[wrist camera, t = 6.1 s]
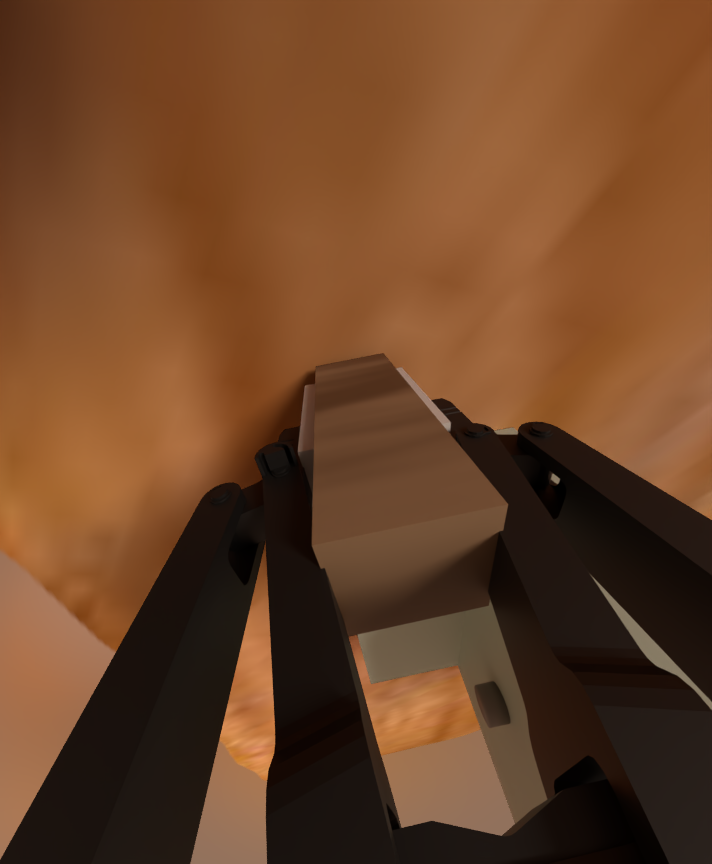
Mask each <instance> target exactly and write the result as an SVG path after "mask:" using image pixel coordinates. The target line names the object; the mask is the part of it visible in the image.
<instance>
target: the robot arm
mask: <svg viewBox="0 0 712 864" xmlns="http://www.w3.org/2000/svg"><path fill="white" fill-rule="evenodd" d="M396 369H397V370H398V372H399V373H400V374H401V375H402V376H403V378H404V379H405V380H406V381H407V382H408V384H409V385H410V386H411V387H412V389H413V390H414V391H415V392H416V393H417V395H418V396H419V397H420V398H421V399H422V401H423V402H424V403H425V404H426V405H427V407H428V408H429V409H430V410H431V411H432V413H433V414H434V415H435V416H436V418H437V419H438V420H439V421H440V422H441V424H442V425H443V426H444V427H445V428H446V430H447V431H448V432H449V433H450V434H451V436H452V437H453V438H454V439H455V441H456V442H457V443H458V444H459V445H460V447H461V448H462V449H463V450H464V451H465V453H466V454H467V455H468V456H469V457H470V459H471V460H472V461H473V462H474V463H475V465H476V466H477V467H478V468H479V470H480V471H481V472H482V473H483V474H484V476H485V477H486V478H487V479H488V480H489V482H490V483H491V484H492V485H493V486H494V488H495V489H496V490H497V491H498V492H499V494H500V495H501V496H502V497H503V499H504V500H505V501H506V502H507V503H508V508H507V513H506V518H505V523H504V529H503V531H499V536H498V541H497V546H496V551H495V556H494V562H493V567H492V572H491V577H490V582H489V588H488V593H489V596H490V600H491V603H492V606H493V609H494V612H495V615H496V618H497V621H498V624H499V627H500V630H501V633H502V636H503V640H504V643H505V646H506V649H507V652H508V655H509V658H510V661H511V664H512V667H513V670H514V673H515V676H516V680H517V683H518V686H519V689H520V692H521V695H522V698H523V701H524V705H525V709H526V713H527V720H528V729H529V736H530V741H531V746H532V750H533V754H534V757H535V761H536V765H537V768H538V771H539V774H540V777H541V781H542V784H543V787H544V790H545V794H546V797H547V800H546V801H544V802H543V803H541V804H540V805H538V806H536V807H535V808H533V809H532V810H531V811H529V812H528V813H527V814H526V815H525V816H524V817H523V818H521V819H520V820H519V821H518V822H517V823H516V824H515V825H513V826H512V827H511V828H510V829H509V830H508V831H507V832H506V833H504V834H503V835H502V836H499V835H495V834H489V833H485V832H481V831H476V830H471V829H467V828H462V827H458V826H453V825H449V824H444V823H439V822H435V821H429V822H425V823H421V824H417V825H413V826H408V827H404V828H401V824H400V821H399V817H398V814H397V810H396V806H395V803H394V799H393V795H392V792H391V788H390V785H389V781H388V777H387V774H386V771H385V767H384V764H383V761H382V757H381V754H380V751H379V747H378V744H377V740H376V737H375V733H374V729H373V726H372V722H371V718H370V715H369V711H368V707H367V704H366V700H365V696H364V693H363V689H362V685H361V682H360V678H359V674H358V671H357V667H356V663H355V660H354V656H353V652H352V648H351V645H350V641H349V637H348V634H347V630H346V626H345V623H344V620H343V617H342V614H341V611H340V609H339V606H338V603H337V600H336V597H335V595H334V592H333V589H332V586H331V583H330V581H329V578H328V575H327V572H326V570H325V568H322V569H321V568H320V566H319V563H318V560H317V558H316V555H315V553H314V550H313V547H312V512H313V507H312V503H313V467H314V421H315V384H310V385H305V389H304V398H303V407H302V417H301V426H299V427H294V428H289V429H285V430H284V431H283V432H282V433H281V434H280V436H279V440H278V442H276V443H272V444H269V445H267V446H265V447H263V448H262V449H260V450H259V451H258V452H257V453H256V455H255V461H256V463H257V465H258V468H259V470H260V472H261V475H262V478H263V480H261V481H260V482H258V483H256V484H254V485H251V486H249V487H247V488H244V489H242V490H241V488H240V486H239V485H238V484H236V483H225V484H221V485H219V486H217V487H214V488H213V489H211V490H210V491H209V492H207V493H206V494H205V495H204V497H203V498H202V499H201V501H200V503H199V504H198V506H197V508H196V510H195V512H194V513H193V515H192V517H191V519H190V521H189V522H188V524H187V526H186V528H185V530H184V531H183V533H182V535H181V537H180V539H179V540H178V542H177V544H176V546H175V548H174V549H173V551H172V553H171V555H170V556H169V558H168V560H167V562H166V564H165V565H164V567H163V569H162V571H161V573H160V574H159V576H158V578H157V580H156V582H155V583H154V585H153V587H152V589H151V591H150V592H149V594H148V596H147V598H146V599H145V601H144V603H143V605H142V607H141V608H140V610H139V612H138V614H137V616H136V617H135V619H134V621H133V623H132V625H131V626H130V628H129V630H128V632H127V634H126V635H125V637H124V639H123V641H122V643H121V644H120V646H119V648H118V650H117V651H116V653H115V655H114V657H113V659H112V660H111V662H110V664H109V666H108V668H107V670H106V671H105V673H104V675H103V677H102V678H101V680H100V682H99V684H98V686H97V687H96V689H95V691H94V693H93V695H92V696H91V698H90V700H89V702H88V704H87V705H86V707H85V709H84V711H83V713H82V714H81V716H80V718H79V720H78V721H77V723H76V725H75V727H74V729H73V730H72V732H71V734H70V736H69V738H68V739H67V741H66V743H65V745H64V746H63V749H62V750H61V752H60V754H59V756H58V757H57V759H56V761H55V763H54V765H53V766H52V768H51V770H50V772H49V774H48V775H47V777H46V779H45V781H44V783H43V784H42V786H41V788H40V790H39V792H38V793H37V795H36V797H35V799H34V800H33V802H32V804H31V806H30V807H29V810H28V811H27V813H26V815H25V816H24V818H23V820H22V822H21V824H20V825H19V827H18V829H17V831H16V833H15V835H14V836H13V838H12V840H11V841H10V843H9V845H8V847H7V849H6V850H5V852H4V854H3V856H2V858H1V860H0V864H190V862H191V858H192V854H193V849H194V845H195V841H196V836H197V832H198V828H199V824H200V819H201V815H202V811H203V807H204V802H205V798H206V793H207V789H208V785H209V781H210V776H211V772H212V768H213V763H214V759H215V755H216V751H217V747H218V742H219V738H220V734H221V730H222V725H223V721H224V717H225V712H226V708H227V704H228V700H229V695H230V691H231V687H232V682H233V678H234V674H235V670H236V665H237V661H238V657H239V652H240V648H241V644H242V640H243V635H244V631H245V627H246V623H247V618H248V614H249V610H250V605H251V601H252V597H253V593H254V588H255V584H256V580H257V575H258V571H259V567H260V563H261V558H262V554H263V550H264V545H265V539H266V557H267V577H268V597H269V616H270V636H271V656H272V676H273V695H274V715H275V752H274V756H273V759H272V762H271V764H270V767H269V771H268V780H267V789H266V838H267V864H712V710H711V709H710V707H709V706H708V705H707V704H706V703H705V702H704V700H703V699H702V698H701V697H700V696H699V694H698V693H697V692H696V691H695V690H694V689H693V688H692V687H690V686H689V685H688V684H687V683H686V682H685V681H683V680H682V679H681V678H680V677H679V676H677V675H675V674H673V673H671V672H668V671H666V670H664V669H662V668H660V667H657V666H656V665H655V664H654V663H652V662H651V661H650V660H649V659H648V658H647V657H646V655H645V654H644V653H643V652H642V650H641V649H640V648H639V646H638V645H637V643H636V642H635V640H634V639H633V637H632V636H631V634H630V633H629V631H628V630H627V628H626V627H625V625H624V624H623V622H622V621H621V619H620V618H619V616H618V615H617V613H616V612H615V610H614V609H613V607H612V606H611V604H610V603H609V601H608V600H607V598H606V597H605V595H604V594H603V592H602V591H601V589H600V588H599V587H598V585H597V584H596V582H595V581H594V579H595V580H596V581H597V582H598V583H599V584H600V585H601V586H602V587H603V588H604V589H605V590H606V591H607V592H608V593H609V594H610V595H611V597H612V598H613V599H614V600H615V601H616V602H617V603H618V604H619V605H620V606H621V607H622V608H623V609H624V610H625V611H626V612H627V613H628V614H629V615H630V616H631V618H632V619H633V620H634V621H635V622H636V623H637V624H638V625H639V626H640V627H641V628H642V629H643V630H644V631H645V632H646V633H647V634H648V635H649V636H650V638H651V639H652V640H653V641H654V642H655V643H656V644H657V645H658V646H659V647H660V648H661V649H662V650H663V651H664V652H665V653H666V654H667V655H668V656H669V657H670V659H671V660H672V661H673V662H674V663H675V664H676V665H677V666H678V667H679V668H680V669H681V670H682V671H683V672H684V673H685V674H686V675H687V676H688V677H689V679H690V680H691V681H692V682H693V683H694V684H695V685H696V686H697V687H698V688H699V689H700V690H701V691H702V692H703V693H704V694H705V695H706V696H707V697H708V698H709V700H710V701H711V702H712V520H710V519H709V518H707V517H706V516H704V515H702V514H701V513H699V512H697V511H696V510H694V509H692V508H691V507H689V506H687V505H686V504H684V503H682V502H681V501H679V500H677V499H676V498H674V497H672V496H671V495H669V494H667V493H666V492H664V491H662V490H661V489H659V488H657V487H656V486H654V485H652V484H651V483H649V482H648V481H646V480H644V479H643V478H641V477H639V476H638V475H636V474H634V473H633V472H631V471H629V470H628V469H626V468H624V467H623V466H621V465H619V464H618V463H616V462H614V461H613V460H611V459H609V458H608V457H606V456H604V455H603V454H601V453H599V452H598V451H596V450H595V449H593V448H591V447H590V446H588V445H586V444H585V443H583V442H581V441H580V440H578V439H576V438H575V437H573V436H571V435H570V434H568V433H566V432H565V431H563V430H561V429H560V428H558V427H556V426H554V425H551V424H547V423H544V422H528V423H525V424H522V425H521V426H520V427H519V429H518V434H496V433H495V432H494V430H493V429H491V428H490V427H488V426H486V425H483V424H478V423H472V422H471V421H470V420H469V419H468V418H467V417H466V416H465V415H464V414H463V413H462V412H460V410H459V409H457V408H456V407H455V406H454V405H453V404H452V403H451V402H450V401H447V400H445V399H442V398H440V399H435V400H430V398H429V397H428V396H427V395H426V394H425V393H424V392H423V391H422V390H421V388H420V387H419V386H418V385H417V384H416V383H415V382H414V381H413V379H412V378H411V377H410V376H409V375H408V374H407V373H406V372H405V371H404V369H403V368H402V367H401V368H396ZM552 474H554V475H556V476H557V477H558V478H559V479H560V481H559V483H558V484H557V483H555V482H554V481H552V480H551V477H552ZM590 574H591V575H592V576H591V575H590ZM592 577H593V578H594V579H593V578H592Z"/></svg>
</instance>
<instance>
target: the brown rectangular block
mask: <svg viewBox="0 0 712 864" xmlns="http://www.w3.org/2000/svg"><path fill="white" fill-rule="evenodd" d="M507 508H508V503H507V502H506V501H505V500H504V499H503V497H502V496H501V495H500V494H499V492H498V491H497V490H496V489H495V488H494V486H493V485H492V484H491V483H490V482H489V480H488V479H487V478H486V477H485V476H484V474H483V473H482V472H481V471H480V470H479V468H478V467H477V466H476V465H475V463H474V462H473V461H472V460H471V459H470V457H469V456H468V455H467V454H466V453H465V451H464V450H463V449H462V448H461V447H460V445H459V444H458V443H457V442H456V441H455V439H454V438H453V437H452V436H451V434H450V433H449V432H448V431H447V430H446V428H445V427H444V426H443V425H442V424H441V422H440V421H439V420H438V419H437V418H436V416H435V415H434V414H433V413H432V411H431V410H430V409H429V408H428V407H427V405H426V404H425V403H424V402H423V401H422V399H421V398H420V397H419V396H418V395H417V393H416V392H415V391H414V390H413V389H412V387H411V386H410V385H409V384H408V382H407V381H406V380H405V379H404V378H403V376H402V375H401V374H400V373H399V372H398V370H397V369H396V368H395V367H394V366H393V364H392V363H391V362H390V361H389V359H388V358H387V357H386V356H385V355H384V353H382V354H377V355H372V356H367V357H361V358H356V359H351V360H346V361H341V362H336V363H331V364H326V365H320V366H316V376H315V421H314V467H313V512H312V547H313V550H314V553H315V555H316V558H317V560H318V563H319V566H320V568H321V569H322V568H325V570H326V572H327V575H328V578H329V581H330V583H331V586H332V589H333V592H334V595H335V597H336V600H337V603H338V606H339V609H340V611H341V614H342V617H343V620H344V623H345V626H346V630H347V634H348V637H349V636H353V635H358V634H362V633H367V632H372V631H376V630H381V629H385V628H390V627H394V626H399V625H403V624H408V623H413V622H417V621H422V620H426V619H431V618H435V617H440V616H445V615H449V614H454V613H458V612H463V611H467V610H472V609H476V608H481V607H486V606H489V602H490V596H489V593H488V588H489V582H490V577H491V572H492V567H493V562H494V556H495V551H496V546H497V541H498V536H499V531H503V529H504V523H505V518H506V513H507Z"/></svg>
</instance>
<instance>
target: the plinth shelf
mask: <svg viewBox="0 0 712 864" xmlns="http://www.w3.org/2000/svg"><path fill="white" fill-rule="evenodd" d="M494 432H495V433H496V434H518V431H517V430H516V429H514V428H507V429H502V430H497V431H494ZM551 480H552V481H554V482H555V483H557V484H558V483H559V481H560V479H559V478H558V477H557V476H556V475H554V474H552V477H551ZM590 575H591V574H590ZM591 576H592V575H591ZM592 578H593V577H592ZM593 579H594V578H593ZM594 581H595V582H596V584H597V585H598V587H599V588H600V589H601V591H602V592H603V594H604V595H605V597H606V598H607V600H608V601H609V603H610V604H611V606H612V607H613V609H614V610H615V612H616V613H617V615H618V616H619V618H620V619H621V621H622V622H623V624H624V625H625V627H626V628H627V630H628V631H629V633H630V634H631V636H632V637H633V639H634V640H635V642H636V643H637V645H638V646H639V648H640V649H641V650H642V652H643V653H644V654H645V655H646V657H647V658H648V659H649V660H650V661H651V662H652V663H654V664H655V665H656V666H657V667H660V668H662V669H664V670H666V671H668V672H671V673H673V674H675V675H677V676H679V677H680V678H681V679H682V680H683V681H685V682H686V683H687V684H688V685H689V686H690V687H692V688H693V689H694V690H695V691H696V692H697V693H698V694H699V696H700V697H701V698H702V699H703V700H704V702H705V703H706V704H707V705H708V706H709V707H710V709H711V710H712V702H711V701H710V700H709V698H708V697H707V696H706V695H705V694H704V693H703V692H702V691H701V690H700V689H699V688H698V687H697V686H696V685H695V684H694V683H693V682H692V681H691V680H690V679H689V677H688V676H687V675H686V674H685V673H684V672H683V671H682V670H681V669H680V668H679V667H678V666H677V665H676V664H675V663H674V662H673V661H672V660H671V659H670V657H669V656H668V655H667V654H666V653H665V652H664V651H663V650H662V649H661V648H660V647H659V646H658V645H657V644H656V643H655V642H654V641H653V640H652V639H651V638H650V636H649V635H648V634H647V633H646V632H645V631H644V630H643V629H642V628H641V627H640V626H639V625H638V624H637V623H636V622H635V621H634V620H633V619H632V618H631V616H630V615H629V614H628V613H627V612H626V611H625V610H624V609H623V608H622V607H621V606H620V605H619V604H618V603H617V602H616V601H615V600H614V599H613V598H612V597H611V595H610V594H609V593H608V592H607V591H606V590H605V589H604V588H603V587H602V586H601V585H600V584H599V583H598V582H597V581H596V580H595V579H594ZM358 639H359V642H360V646H361V650H362V653H363V657H364V660H365V664H366V667H367V671H368V674H369V678H370V681H371V684H373V683H378V682H383V681H387V680H392V679H396V678H401V677H406V676H410V675H415V674H419V673H424V672H429V671H433V670H438V669H443V668H447V667H452V666H456V665H458V667H459V670H460V672H461V675H462V678H463V681H464V683H465V686H466V689H467V692H468V694H469V697H470V700H471V703H472V706H473V708H474V711H475V714H476V717H477V719H478V722H479V725H480V728H481V730H482V733H483V736H484V739H485V741H486V744H487V747H488V750H489V753H490V755H491V758H492V761H493V764H494V767H495V769H496V772H497V775H498V778H499V780H500V783H501V786H502V788H503V791H504V794H505V797H506V800H507V803H508V805H509V808H510V811H511V813H512V816H513V819H514V822H515V824H516V823H517V822H518V821H519V820H520V819H521V818H523V817H524V816H525V815H526V814H527V813H528V812H529V811H531V810H532V809H533V808H535V807H536V806H538V805H540V804H541V803H543V802H544V801H546V800H547V797H546V794H545V790H544V787H543V784H542V781H541V777H540V774H539V771H538V768H537V765H536V761H535V757H534V754H533V750H532V746H531V741H530V736H529V729H528V720H527V713H526V709H525V705H524V701H523V698H522V695H521V692H520V689H519V686H518V683H517V680H516V676H515V673H514V670H513V667H512V664H511V661H510V658H509V655H508V652H507V649H506V646H505V643H504V640H503V636H502V633H501V630H500V627H499V624H498V621H497V618H496V615H495V612H494V609H493V606H492V603H491V600H490V602H489V606H486V607H481V608H476V609H472V610H467V611H463V612H458V613H454V614H449V615H445V616H440V617H435V618H431V619H426V620H422V621H417V622H413V623H408V624H403V625H399V626H394V627H390V628H385V629H381V630H376V631H372V632H367V633H362V634H358Z"/></svg>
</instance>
